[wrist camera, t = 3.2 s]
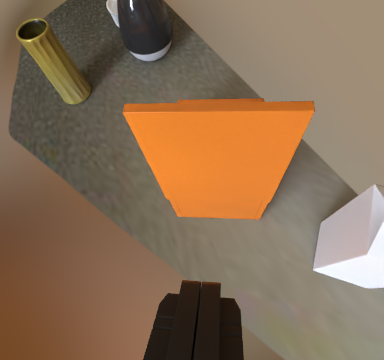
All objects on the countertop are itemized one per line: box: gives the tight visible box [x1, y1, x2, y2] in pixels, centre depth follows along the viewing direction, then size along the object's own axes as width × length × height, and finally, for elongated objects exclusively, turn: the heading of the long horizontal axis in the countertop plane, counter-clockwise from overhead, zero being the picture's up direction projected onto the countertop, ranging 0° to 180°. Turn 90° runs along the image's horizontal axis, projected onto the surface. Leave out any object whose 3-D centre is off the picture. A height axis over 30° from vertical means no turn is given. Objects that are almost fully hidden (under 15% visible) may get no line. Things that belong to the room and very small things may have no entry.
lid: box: [123, 101, 315, 202], centre depth 25 cm, size 16×13×1 cm
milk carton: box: [313, 184, 384, 288], centre depth 28 cm, size 7×7×19 cm
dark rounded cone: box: [117, 0, 173, 61], centre depth 50 cm, size 10×10×15 cm
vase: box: [16, 18, 91, 104], centre depth 48 cm, size 6×6×14 cm
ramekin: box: [107, 0, 120, 28], centre depth 60 cm, size 9×9×4 cm
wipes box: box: [169, 99, 268, 219], centre depth 40 cm, size 16×13×9 cm
